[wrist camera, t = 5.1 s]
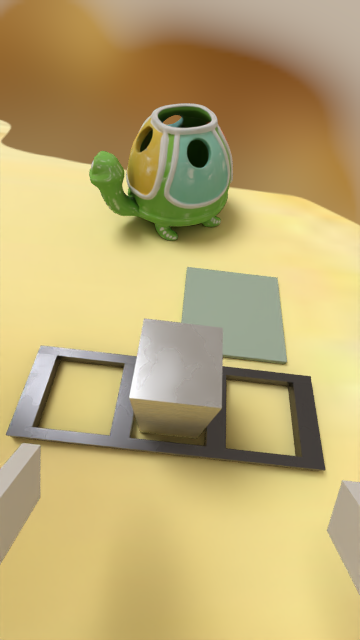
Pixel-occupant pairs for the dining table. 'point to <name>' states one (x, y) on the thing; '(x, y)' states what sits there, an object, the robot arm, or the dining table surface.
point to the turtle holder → (170, 171)
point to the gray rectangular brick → (177, 378)
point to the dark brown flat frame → (120, 438)
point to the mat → (237, 312)
